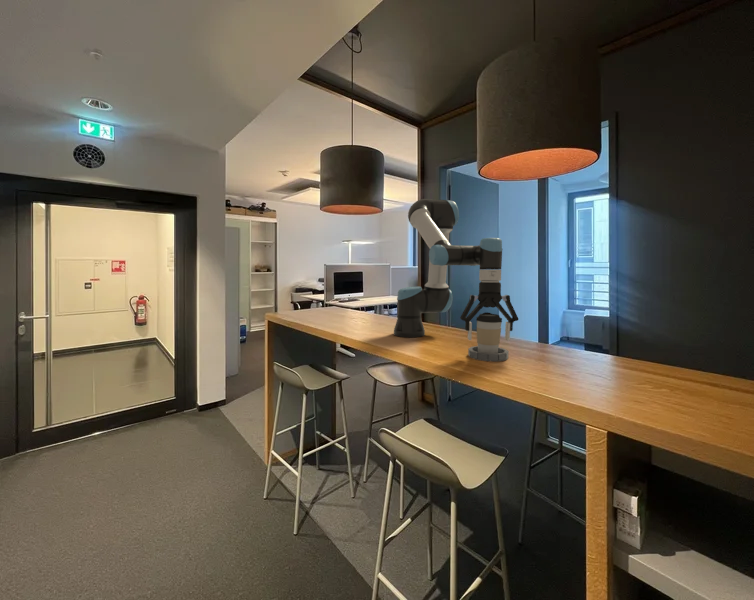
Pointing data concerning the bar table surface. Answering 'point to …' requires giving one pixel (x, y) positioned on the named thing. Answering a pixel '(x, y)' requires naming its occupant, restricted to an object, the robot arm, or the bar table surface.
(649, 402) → the bar table surface
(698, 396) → the bar table surface
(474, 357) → the tray
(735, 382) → the bar table surface
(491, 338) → the coffee cup
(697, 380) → the bar table surface
